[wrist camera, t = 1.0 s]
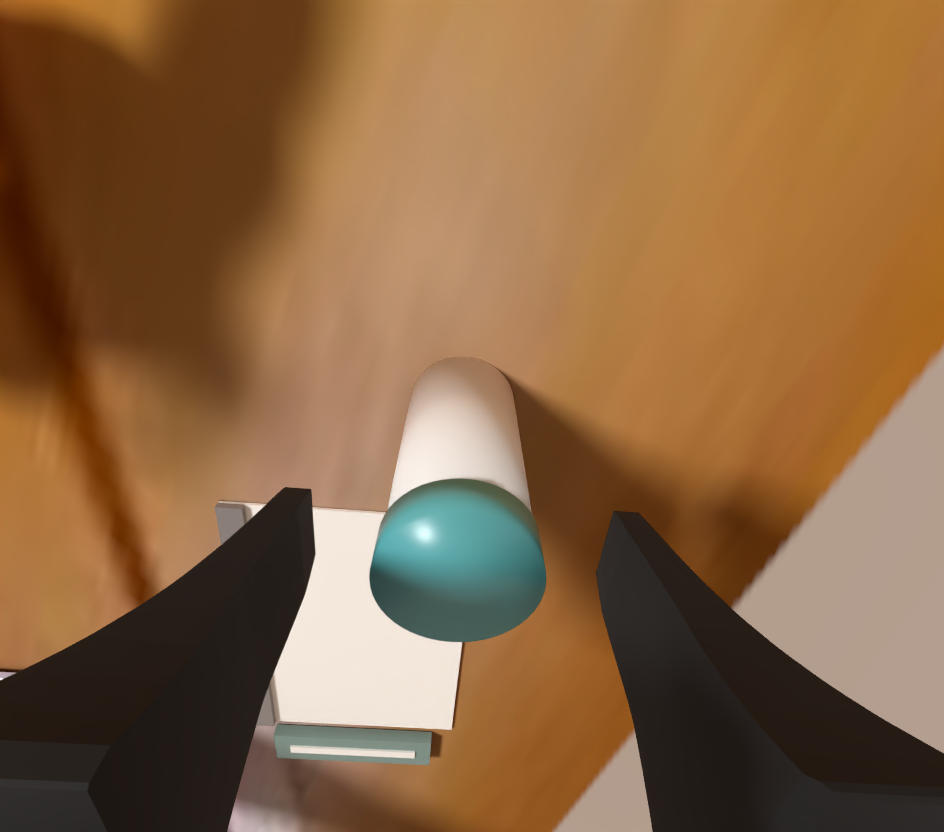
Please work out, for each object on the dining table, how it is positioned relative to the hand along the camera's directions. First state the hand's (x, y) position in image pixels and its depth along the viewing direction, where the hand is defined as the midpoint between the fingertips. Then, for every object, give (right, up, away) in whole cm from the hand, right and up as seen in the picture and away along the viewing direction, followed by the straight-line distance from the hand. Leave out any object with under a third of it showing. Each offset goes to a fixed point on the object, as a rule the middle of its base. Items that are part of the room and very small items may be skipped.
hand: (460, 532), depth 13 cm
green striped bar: (-6, -14, +16) cm, 22 cm away
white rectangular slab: (-5, -7, +11) cm, 14 cm away
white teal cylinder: (0, +3, +6) cm, 7 cm away
